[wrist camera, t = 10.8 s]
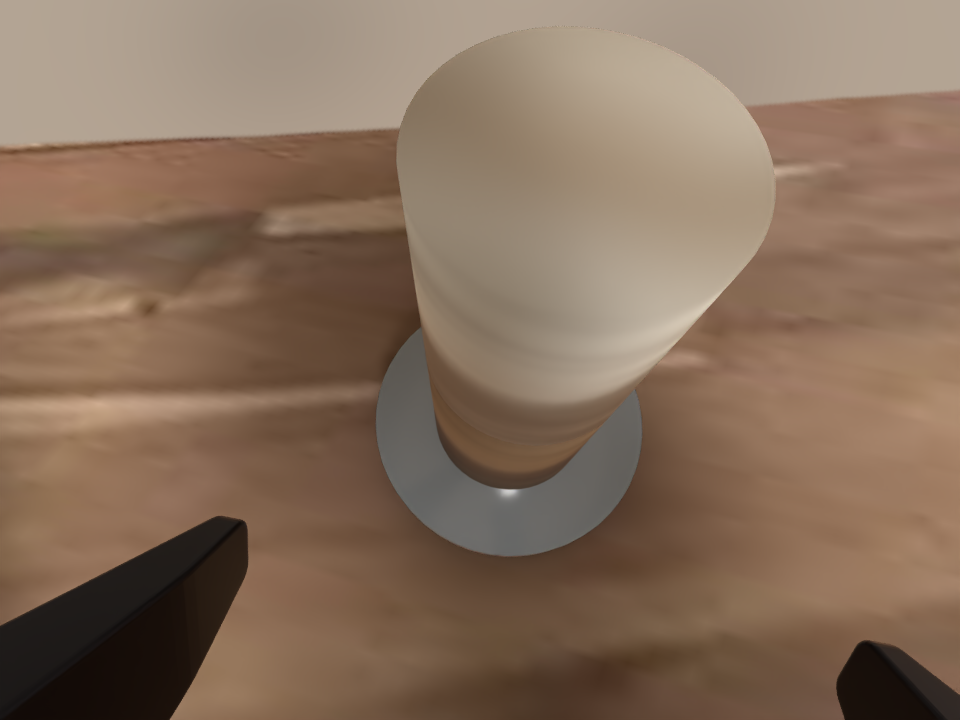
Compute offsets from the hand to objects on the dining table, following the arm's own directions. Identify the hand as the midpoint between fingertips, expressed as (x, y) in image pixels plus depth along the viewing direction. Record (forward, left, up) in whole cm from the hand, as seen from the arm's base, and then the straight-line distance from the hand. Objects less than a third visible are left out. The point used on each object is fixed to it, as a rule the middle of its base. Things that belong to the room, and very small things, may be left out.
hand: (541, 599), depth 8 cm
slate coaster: (+6, +2, -12) cm, 13 cm away
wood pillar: (+6, +2, -10) cm, 12 cm away
